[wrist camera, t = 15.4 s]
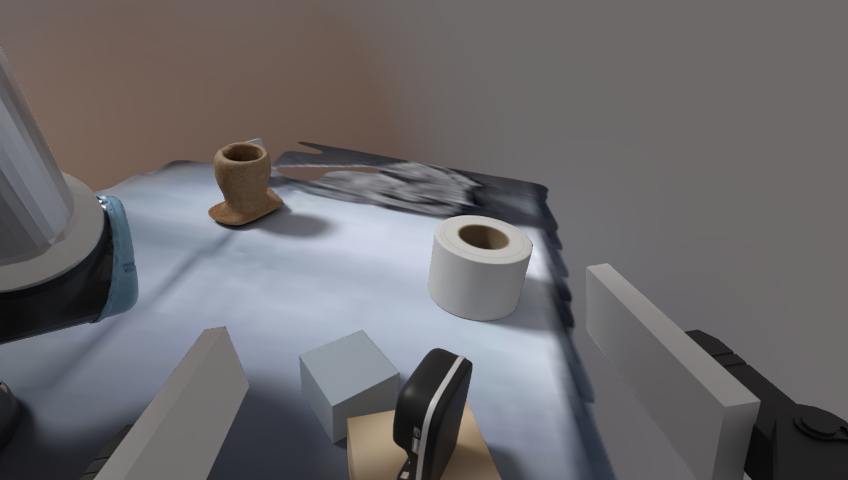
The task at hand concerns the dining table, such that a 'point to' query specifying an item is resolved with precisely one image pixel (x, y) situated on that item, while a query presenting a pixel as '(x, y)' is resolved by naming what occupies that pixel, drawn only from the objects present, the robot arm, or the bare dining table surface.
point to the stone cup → (243, 184)
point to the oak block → (383, 459)
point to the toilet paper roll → (478, 267)
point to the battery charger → (431, 414)
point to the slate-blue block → (348, 382)
